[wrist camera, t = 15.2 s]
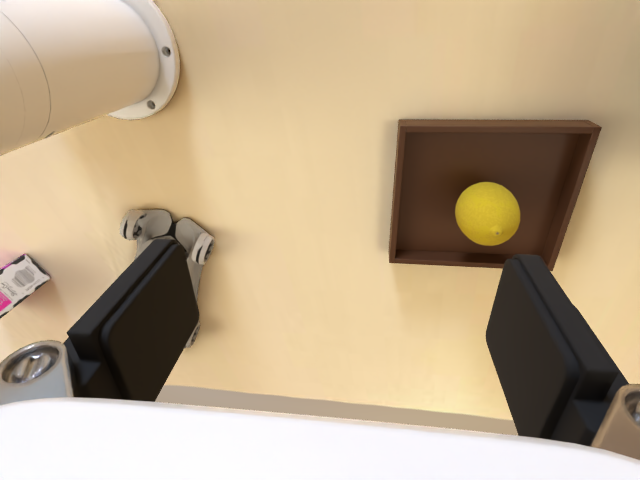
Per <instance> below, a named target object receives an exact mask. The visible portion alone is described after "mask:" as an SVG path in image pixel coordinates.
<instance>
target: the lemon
mask: <svg viewBox="0 0 640 480" xmlns="http://www.w3.org/2000/svg"><path fill="white" fill-rule="evenodd" d="M455 216H456V221H457V224H458V226H459V228H460V229H461V231H462V232H463V233H464V234H465V235H466V236H467V237H468V238H469V239H470V240H472V241H473V242H475V243H477V244H481V245H485V246H493V245H499V244H501V243H504V242H505V241H507V240H509V239H510V238H511V237H512V236H513V235H514V234H515V232H516V231H517V229H518V226H519V223H520V209H519V205H518V202H517V200H516V199H515V197H514V196H513V194H512V193H511V192H510V191H509V190H507V189H506V188H505V187H503V186H502V185H499V184H496V183H492V182H480V183H477V184H474V185H472V186H470V187H468V188H467V189H466V190H465V191H463V192H462V194H461V195H460V197H459V198H458V200H457V203H456V208H455Z"/></svg>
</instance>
